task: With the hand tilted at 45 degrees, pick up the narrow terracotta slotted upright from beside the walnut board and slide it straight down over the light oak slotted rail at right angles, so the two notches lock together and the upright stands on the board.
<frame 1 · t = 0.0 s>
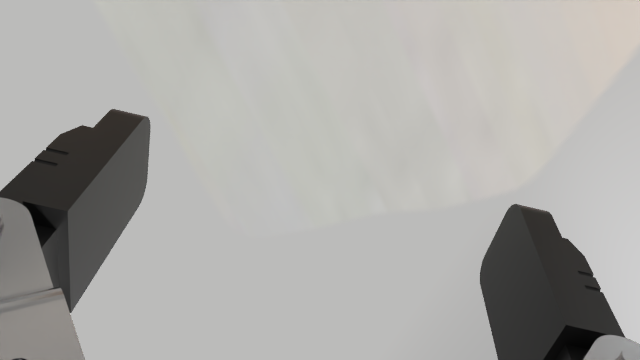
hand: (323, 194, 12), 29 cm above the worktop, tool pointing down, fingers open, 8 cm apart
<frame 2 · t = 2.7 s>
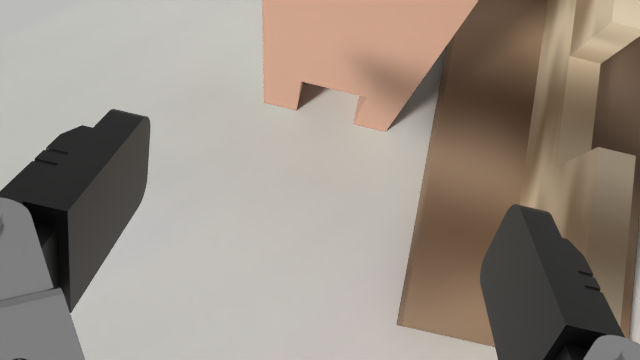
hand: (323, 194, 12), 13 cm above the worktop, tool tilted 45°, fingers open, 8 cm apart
slotted rail: (532, 141, 27), on the worktop
slotted upright: (331, 88, 27), on the worktop
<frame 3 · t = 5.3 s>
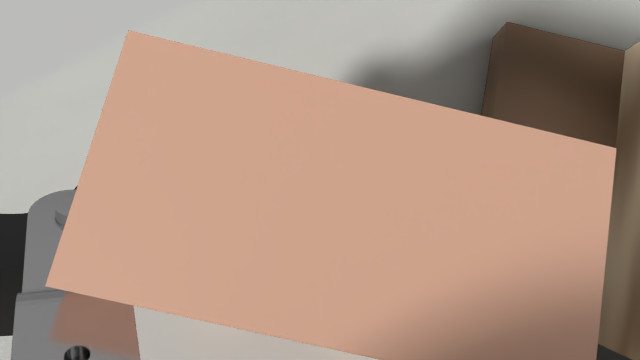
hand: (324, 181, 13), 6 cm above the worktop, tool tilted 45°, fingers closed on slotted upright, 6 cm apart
slotted rail: (595, 343, 18), on the worktop
slotted upright: (296, 269, 18), on the worktop, touching gripper
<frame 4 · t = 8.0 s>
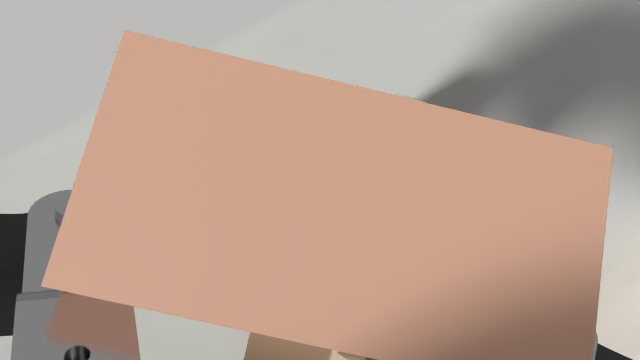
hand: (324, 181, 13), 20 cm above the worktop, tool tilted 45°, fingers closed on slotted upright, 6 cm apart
slotted rail: (347, 303, 32), on the worktop
slotted upright: (295, 268, 18), point 14 cm above the worktop, touching gripper
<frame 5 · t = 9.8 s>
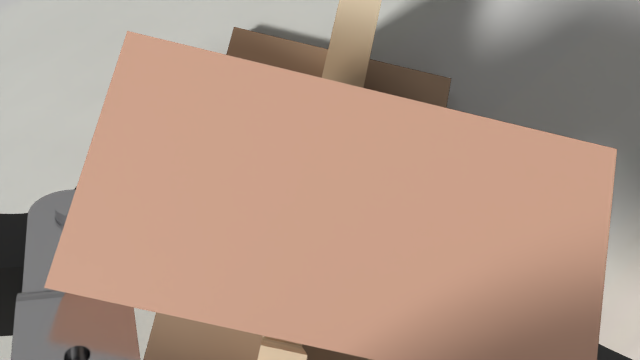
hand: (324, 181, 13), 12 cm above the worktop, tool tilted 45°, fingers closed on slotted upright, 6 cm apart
slotted rail: (293, 275, 24), on the worktop
slotted upright: (296, 269, 18), point 6 cm above the worktop, touching gripper
when the fingers open (8 cm above the worktop, at t = 11.1 s): slotted upright stays where it is, resting on slotted rail.
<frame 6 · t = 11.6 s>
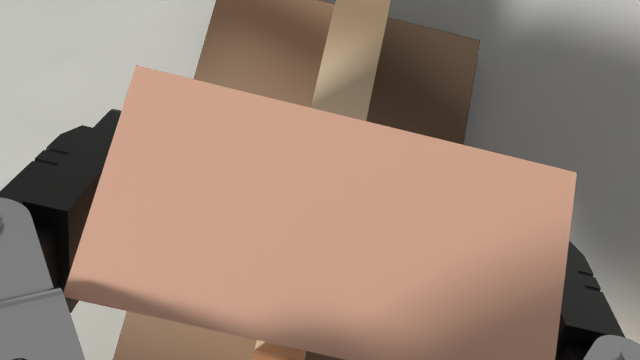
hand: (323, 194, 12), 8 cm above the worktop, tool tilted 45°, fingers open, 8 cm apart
slotted rail: (292, 272, 20), on the worktop
slotted upright: (292, 273, 19), point 1 cm above the worktop, touching slotted rail
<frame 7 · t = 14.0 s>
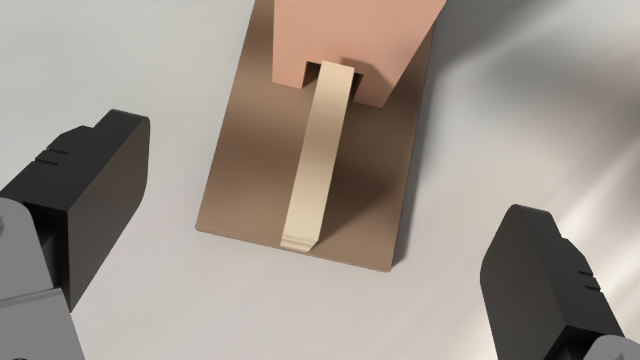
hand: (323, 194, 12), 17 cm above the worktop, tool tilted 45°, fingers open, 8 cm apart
slotted rail: (331, 76, 31), on the worktop
slotted upright: (332, 69, 30), point 1 cm above the worktop, touching slotted rail
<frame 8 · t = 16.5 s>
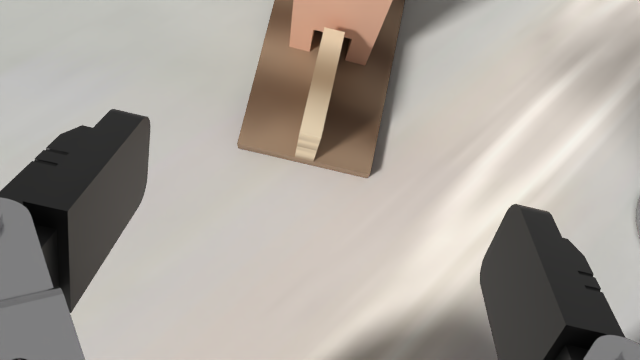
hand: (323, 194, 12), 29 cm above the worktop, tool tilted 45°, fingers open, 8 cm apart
slotted rail: (330, 44, 44), on the worktop
slotted upright: (331, 38, 43), point 1 cm above the worktop, touching slotted rail
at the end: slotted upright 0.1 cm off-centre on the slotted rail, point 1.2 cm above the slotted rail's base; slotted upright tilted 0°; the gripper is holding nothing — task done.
